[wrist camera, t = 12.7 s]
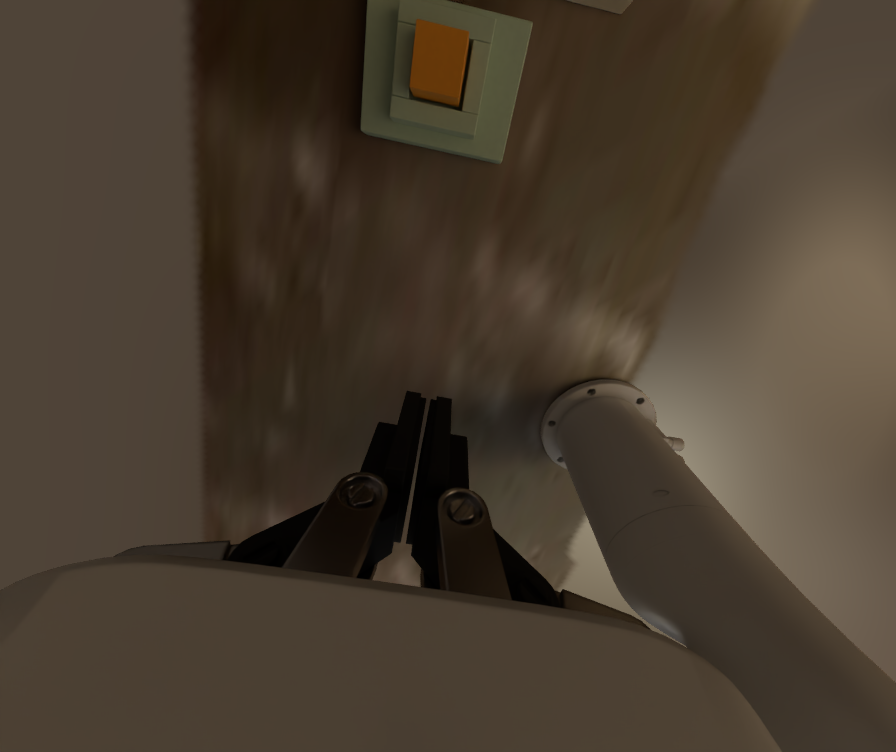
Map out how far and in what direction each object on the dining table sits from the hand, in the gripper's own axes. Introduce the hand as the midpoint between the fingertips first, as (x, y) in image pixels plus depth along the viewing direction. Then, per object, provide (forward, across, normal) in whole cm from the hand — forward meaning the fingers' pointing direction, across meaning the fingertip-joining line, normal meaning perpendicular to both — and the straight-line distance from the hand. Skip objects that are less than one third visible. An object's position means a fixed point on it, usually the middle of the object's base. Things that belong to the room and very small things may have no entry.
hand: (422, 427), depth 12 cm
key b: (+19, +3, -15) cm, 24 cm away
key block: (+22, +3, -15) cm, 27 cm away
